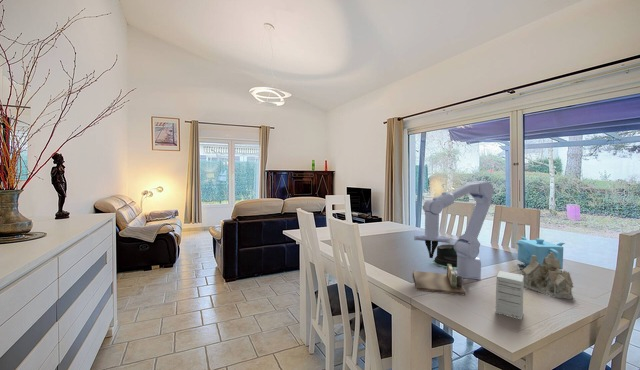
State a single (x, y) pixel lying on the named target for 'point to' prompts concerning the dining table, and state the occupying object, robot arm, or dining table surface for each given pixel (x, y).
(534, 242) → the teakettle
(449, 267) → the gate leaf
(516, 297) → the supplement box
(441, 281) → the board
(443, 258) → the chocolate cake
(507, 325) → the dining table surface
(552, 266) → the ceramic cottage
